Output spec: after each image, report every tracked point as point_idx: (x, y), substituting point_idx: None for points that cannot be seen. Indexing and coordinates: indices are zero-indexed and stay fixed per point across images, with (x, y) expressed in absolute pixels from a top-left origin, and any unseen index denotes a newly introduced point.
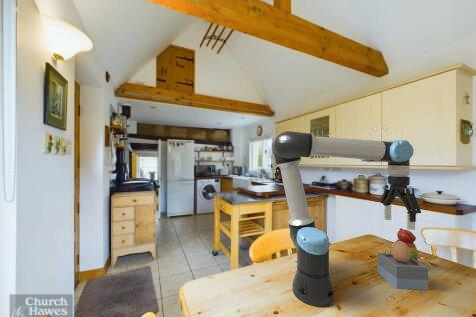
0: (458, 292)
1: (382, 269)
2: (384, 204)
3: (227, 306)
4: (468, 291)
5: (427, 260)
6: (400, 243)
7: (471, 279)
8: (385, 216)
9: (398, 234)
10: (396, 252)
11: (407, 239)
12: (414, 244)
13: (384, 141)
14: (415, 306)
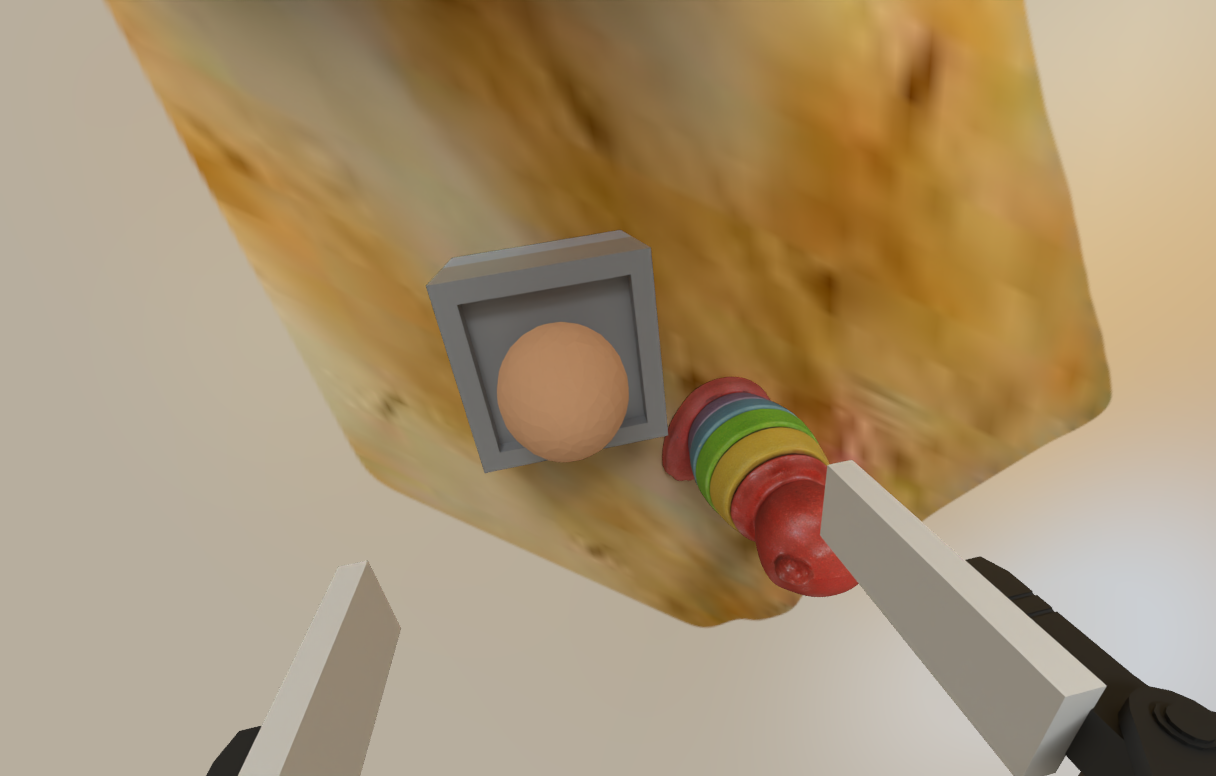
0: (517, 513)
1: (579, 243)
2: (1145, 724)
3: None
4: (538, 548)
5: None
6: (540, 417)
7: (640, 602)
8: (862, 502)
9: None
10: (518, 347)
11: (761, 526)
12: (753, 540)
13: None
14: (302, 271)
